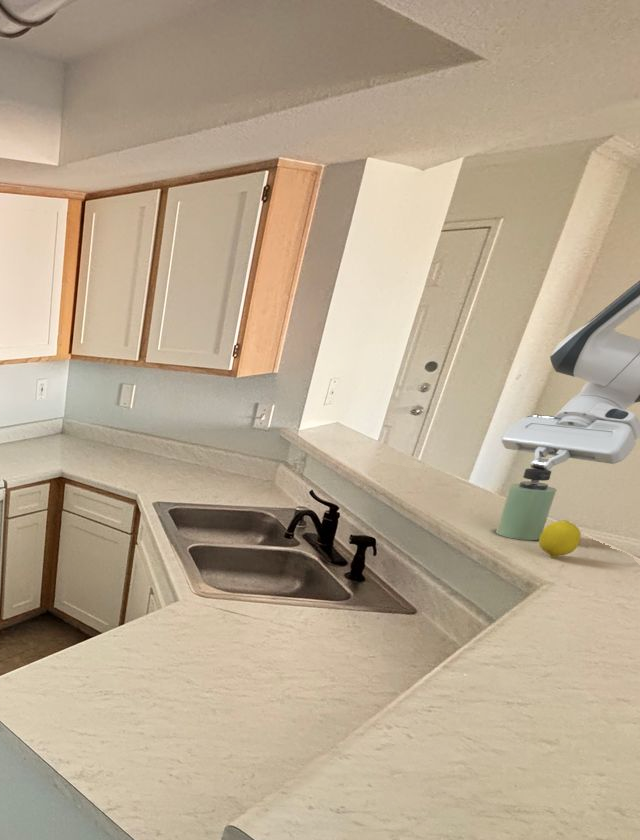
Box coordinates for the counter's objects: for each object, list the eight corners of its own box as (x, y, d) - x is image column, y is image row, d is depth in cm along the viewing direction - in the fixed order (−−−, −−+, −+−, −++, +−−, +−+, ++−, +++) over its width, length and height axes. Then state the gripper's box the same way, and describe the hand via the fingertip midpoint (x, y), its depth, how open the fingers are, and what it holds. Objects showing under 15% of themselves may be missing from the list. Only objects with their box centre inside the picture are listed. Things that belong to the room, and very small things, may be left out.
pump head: (542, 481, 129) (546, 469, 128) (556, 488, 123) (561, 475, 123) (518, 480, 131) (522, 467, 130) (531, 487, 125) (535, 474, 124)
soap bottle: (532, 532, 134) (549, 481, 130) (546, 542, 128) (564, 488, 124) (490, 528, 137) (506, 478, 133) (502, 538, 131) (518, 486, 127)
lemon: (579, 563, 116) (593, 525, 114) (544, 561, 118) (557, 523, 115) (561, 553, 121) (574, 517, 119) (527, 551, 123) (539, 515, 120)
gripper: (522, 404, 135) (479, 450, 135) (647, 415, 116) (596, 467, 117) (529, 422, 137) (487, 467, 138) (653, 435, 119) (603, 487, 119)
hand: (538, 467), depth 127 cm, fingers closed, pressing on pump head
